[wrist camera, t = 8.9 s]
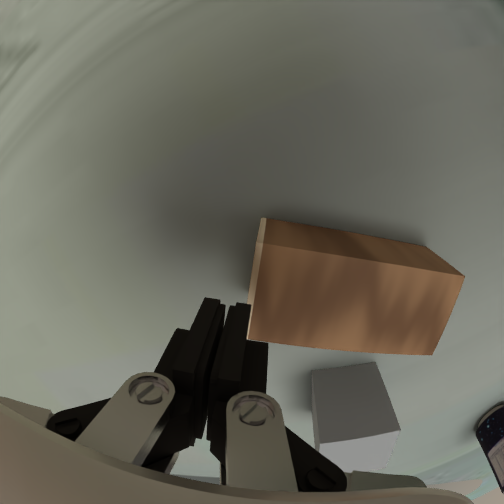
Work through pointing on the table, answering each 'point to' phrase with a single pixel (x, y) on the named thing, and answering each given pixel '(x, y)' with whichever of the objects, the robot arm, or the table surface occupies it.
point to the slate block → (353, 417)
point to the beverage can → (493, 441)
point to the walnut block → (348, 291)
